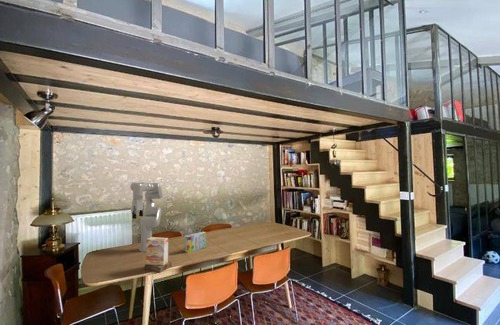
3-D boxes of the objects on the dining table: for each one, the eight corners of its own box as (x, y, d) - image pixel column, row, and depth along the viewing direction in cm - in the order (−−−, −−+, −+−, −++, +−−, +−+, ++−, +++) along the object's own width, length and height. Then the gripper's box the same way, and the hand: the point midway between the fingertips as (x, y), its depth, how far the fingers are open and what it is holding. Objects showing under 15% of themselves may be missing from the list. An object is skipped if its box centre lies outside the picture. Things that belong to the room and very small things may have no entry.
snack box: (203, 246, 240) (203, 231, 240) (206, 247, 236) (206, 232, 236) (184, 251, 225) (184, 235, 225) (187, 253, 221) (187, 236, 221)
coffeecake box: (145, 264, 186) (146, 239, 187) (150, 261, 193) (151, 236, 194) (163, 265, 184) (163, 240, 184) (168, 262, 191) (168, 237, 191)
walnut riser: (156, 264, 198) (156, 258, 198) (171, 267, 191) (171, 262, 191) (144, 269, 187) (144, 264, 187) (159, 273, 180) (160, 267, 180)
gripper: (139, 196, 216) (139, 215, 215) (127, 198, 198) (127, 219, 198) (147, 196, 215) (147, 215, 214) (135, 199, 197) (135, 219, 197)
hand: (137, 217), depth 206 cm, fingers open, 9 cm apart
